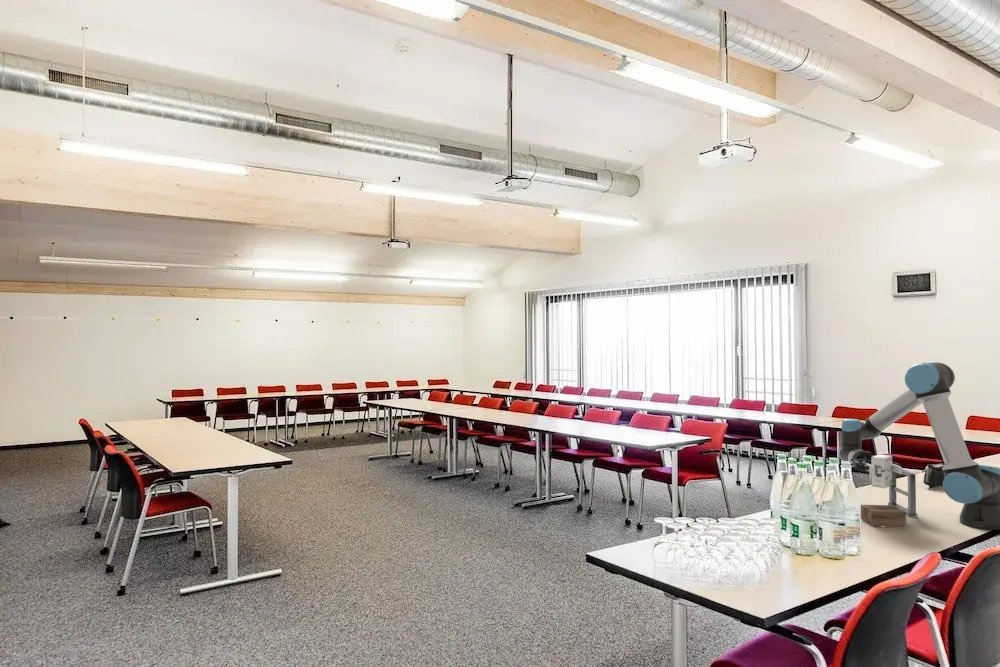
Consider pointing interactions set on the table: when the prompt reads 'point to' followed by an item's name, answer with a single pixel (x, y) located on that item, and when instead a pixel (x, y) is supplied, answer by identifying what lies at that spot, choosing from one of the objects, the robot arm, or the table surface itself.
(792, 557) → the table surface
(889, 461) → the ink box
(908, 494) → the rack
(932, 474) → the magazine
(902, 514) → the walnut plinth
